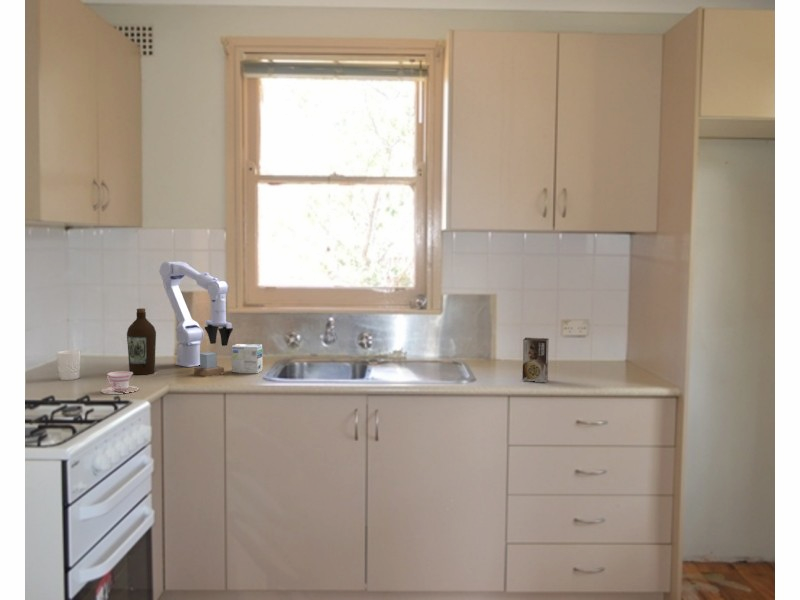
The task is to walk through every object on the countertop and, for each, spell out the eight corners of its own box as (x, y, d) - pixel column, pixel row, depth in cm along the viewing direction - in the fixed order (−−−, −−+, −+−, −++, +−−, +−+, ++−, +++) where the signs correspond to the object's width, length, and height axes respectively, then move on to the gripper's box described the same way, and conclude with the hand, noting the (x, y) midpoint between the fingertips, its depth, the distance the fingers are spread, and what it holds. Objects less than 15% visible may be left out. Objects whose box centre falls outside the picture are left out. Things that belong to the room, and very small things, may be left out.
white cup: (76, 375, 266) (75, 349, 265) (84, 378, 261) (83, 351, 260) (54, 378, 261) (53, 351, 260) (62, 381, 255) (61, 354, 254)
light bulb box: (263, 370, 280) (262, 344, 280) (257, 373, 274) (257, 346, 273) (237, 369, 282) (236, 343, 281) (231, 373, 275) (231, 345, 274)
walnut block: (194, 375, 272) (194, 367, 271) (211, 372, 278) (211, 364, 278) (206, 378, 267) (206, 370, 266) (223, 375, 273) (223, 367, 273)
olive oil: (135, 369, 279) (133, 307, 277) (161, 370, 278) (160, 307, 276) (122, 374, 268) (121, 309, 266) (149, 375, 268) (148, 310, 266)
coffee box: (548, 380, 268) (549, 338, 267) (545, 383, 262) (547, 340, 261) (524, 378, 271) (525, 336, 270) (521, 381, 265) (522, 339, 264)
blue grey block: (200, 367, 272) (199, 353, 271) (209, 365, 275) (209, 352, 275) (206, 368, 269) (206, 354, 268) (216, 367, 272) (216, 353, 272)
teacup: (145, 388, 246) (145, 371, 245) (126, 395, 234) (126, 377, 233) (114, 386, 248) (113, 369, 247) (93, 394, 236) (93, 375, 235)
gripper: (199, 310, 282) (199, 343, 284) (221, 313, 273) (221, 347, 274) (213, 309, 288) (214, 341, 289) (235, 311, 279) (236, 345, 280)
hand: (218, 344), depth 282 cm, fingers open, 7 cm apart
